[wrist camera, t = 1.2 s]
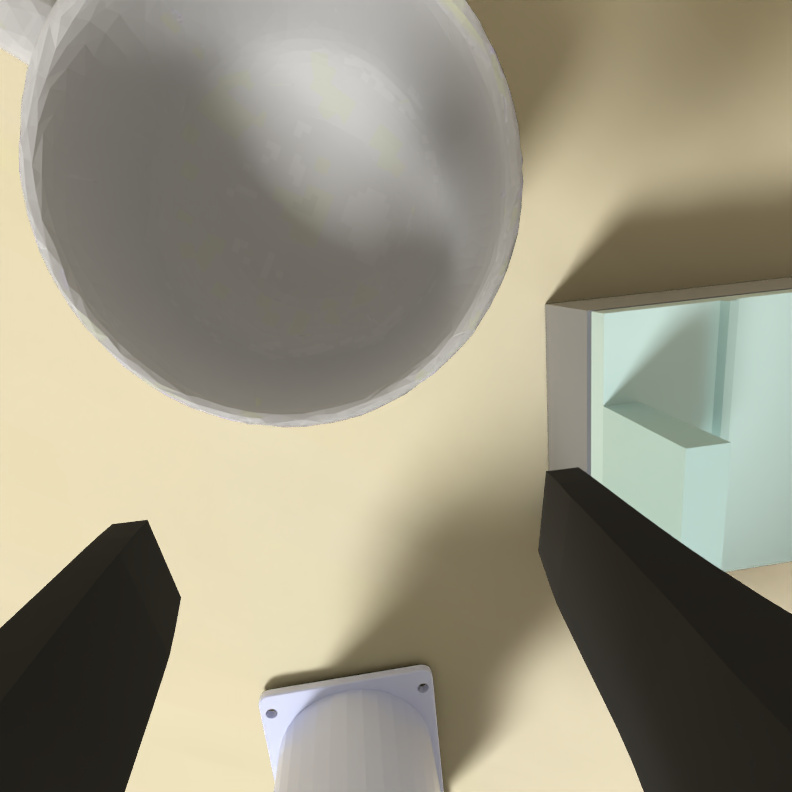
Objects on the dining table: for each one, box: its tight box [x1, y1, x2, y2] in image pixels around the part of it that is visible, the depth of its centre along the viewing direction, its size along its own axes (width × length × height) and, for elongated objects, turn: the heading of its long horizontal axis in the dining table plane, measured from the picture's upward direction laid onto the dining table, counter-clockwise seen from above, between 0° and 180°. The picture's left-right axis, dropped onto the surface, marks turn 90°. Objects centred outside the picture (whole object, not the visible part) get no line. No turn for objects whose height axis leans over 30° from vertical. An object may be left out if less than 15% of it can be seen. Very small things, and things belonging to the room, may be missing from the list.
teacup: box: [0, 0, 523, 427], centre depth 14 cm, size 14×11×8 cm
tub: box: [545, 277, 792, 476], centre depth 20 cm, size 12×10×4 cm
